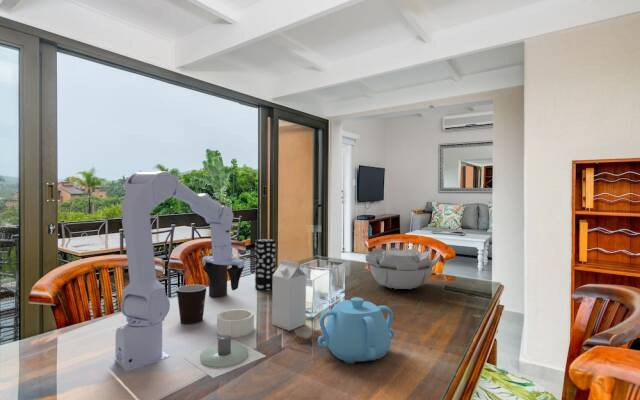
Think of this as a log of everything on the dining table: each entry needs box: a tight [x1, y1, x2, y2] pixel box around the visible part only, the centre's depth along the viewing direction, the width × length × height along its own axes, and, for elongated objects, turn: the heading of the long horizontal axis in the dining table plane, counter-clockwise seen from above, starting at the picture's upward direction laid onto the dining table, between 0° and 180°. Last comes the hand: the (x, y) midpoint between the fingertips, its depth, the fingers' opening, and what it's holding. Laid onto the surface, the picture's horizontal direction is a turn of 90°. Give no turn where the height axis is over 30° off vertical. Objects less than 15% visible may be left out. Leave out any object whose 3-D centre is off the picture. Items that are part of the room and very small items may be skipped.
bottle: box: [208, 253, 228, 298], centre depth 136 cm, size 7×7×20 cm
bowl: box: [216, 308, 255, 338], centre depth 100 cm, size 10×10×5 cm
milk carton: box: [271, 259, 307, 332], centre depth 105 cm, size 7×7×19 cm
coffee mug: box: [176, 284, 207, 325], centre depth 110 cm, size 12×9×10 cm
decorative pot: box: [317, 297, 395, 364], centre depth 86 cm, size 16×16×14 cm
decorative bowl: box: [365, 247, 441, 290], centre depth 149 cm, size 30×30×15 cm
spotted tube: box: [254, 238, 277, 292], centre depth 146 cm, size 8×8×20 cm
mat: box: [182, 338, 267, 379], centre depth 83 cm, size 14×14×1 cm
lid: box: [200, 335, 248, 368], centre depth 83 cm, size 11×11×4 cm
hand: (224, 287), depth 108 cm, fingers open, 7 cm apart
